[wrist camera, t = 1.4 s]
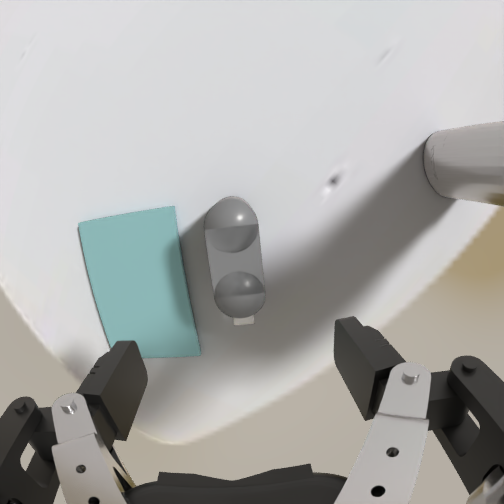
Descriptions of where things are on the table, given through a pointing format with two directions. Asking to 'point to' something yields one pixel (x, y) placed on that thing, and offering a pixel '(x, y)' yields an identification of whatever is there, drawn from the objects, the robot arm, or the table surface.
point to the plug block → (235, 259)
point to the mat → (141, 281)
